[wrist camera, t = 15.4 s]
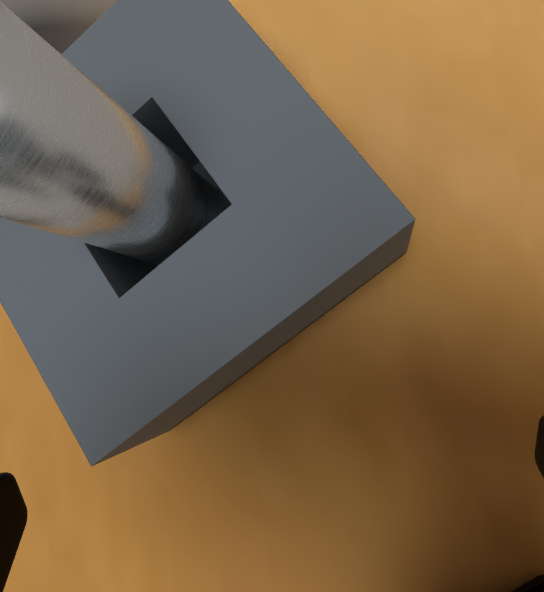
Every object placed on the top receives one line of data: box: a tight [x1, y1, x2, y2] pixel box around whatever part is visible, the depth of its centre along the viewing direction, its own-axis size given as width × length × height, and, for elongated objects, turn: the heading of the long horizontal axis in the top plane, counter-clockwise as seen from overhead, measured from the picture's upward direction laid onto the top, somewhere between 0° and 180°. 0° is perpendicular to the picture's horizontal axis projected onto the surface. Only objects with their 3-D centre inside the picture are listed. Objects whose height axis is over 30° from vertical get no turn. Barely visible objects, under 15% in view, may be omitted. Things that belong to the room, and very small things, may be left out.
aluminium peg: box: [0, 2, 232, 265], centre depth 14 cm, size 4×4×12 cm
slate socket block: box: [0, 0, 415, 466], centre depth 18 cm, size 13×13×6 cm
